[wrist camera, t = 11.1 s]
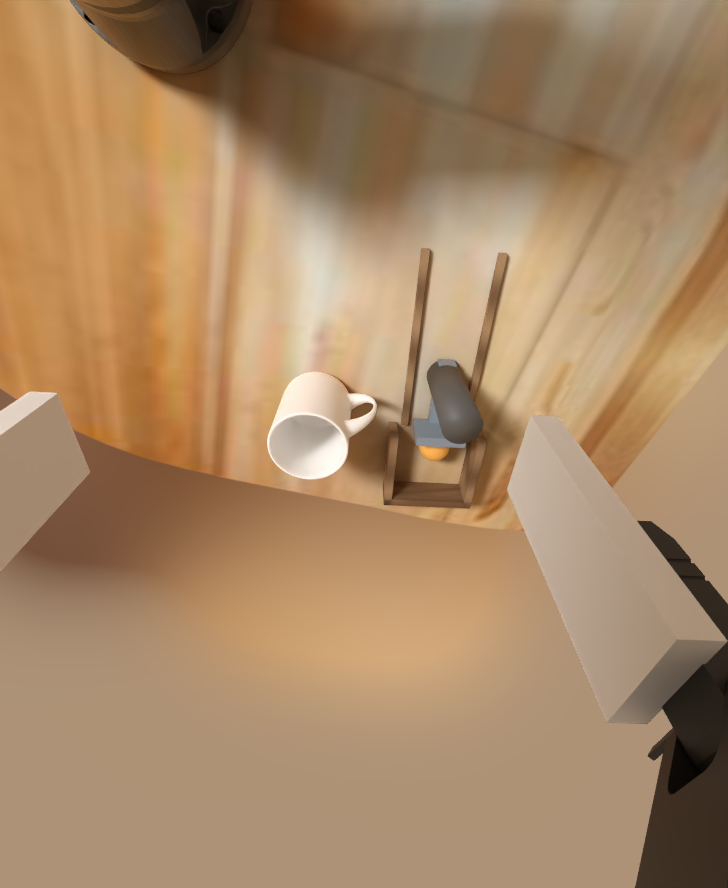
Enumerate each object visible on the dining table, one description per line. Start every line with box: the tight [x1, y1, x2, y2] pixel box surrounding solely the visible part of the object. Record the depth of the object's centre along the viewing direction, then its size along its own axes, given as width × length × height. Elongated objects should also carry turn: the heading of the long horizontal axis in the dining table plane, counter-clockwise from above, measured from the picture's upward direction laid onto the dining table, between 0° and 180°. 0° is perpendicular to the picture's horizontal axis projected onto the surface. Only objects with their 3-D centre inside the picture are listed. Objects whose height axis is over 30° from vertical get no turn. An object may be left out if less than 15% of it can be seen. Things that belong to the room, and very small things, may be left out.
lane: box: [401, 249, 508, 425], centre depth 48 cm, size 21×9×1 cm, turn 177°
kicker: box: [413, 359, 483, 448], centre depth 47 cm, size 9×6×12 cm, turn 177°
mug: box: [267, 372, 377, 479], centre depth 48 cm, size 9×12×11 cm
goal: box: [383, 422, 487, 509], centre depth 56 cm, size 11×12×4 cm
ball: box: [419, 446, 450, 461], centre depth 54 cm, size 4×4×4 cm
